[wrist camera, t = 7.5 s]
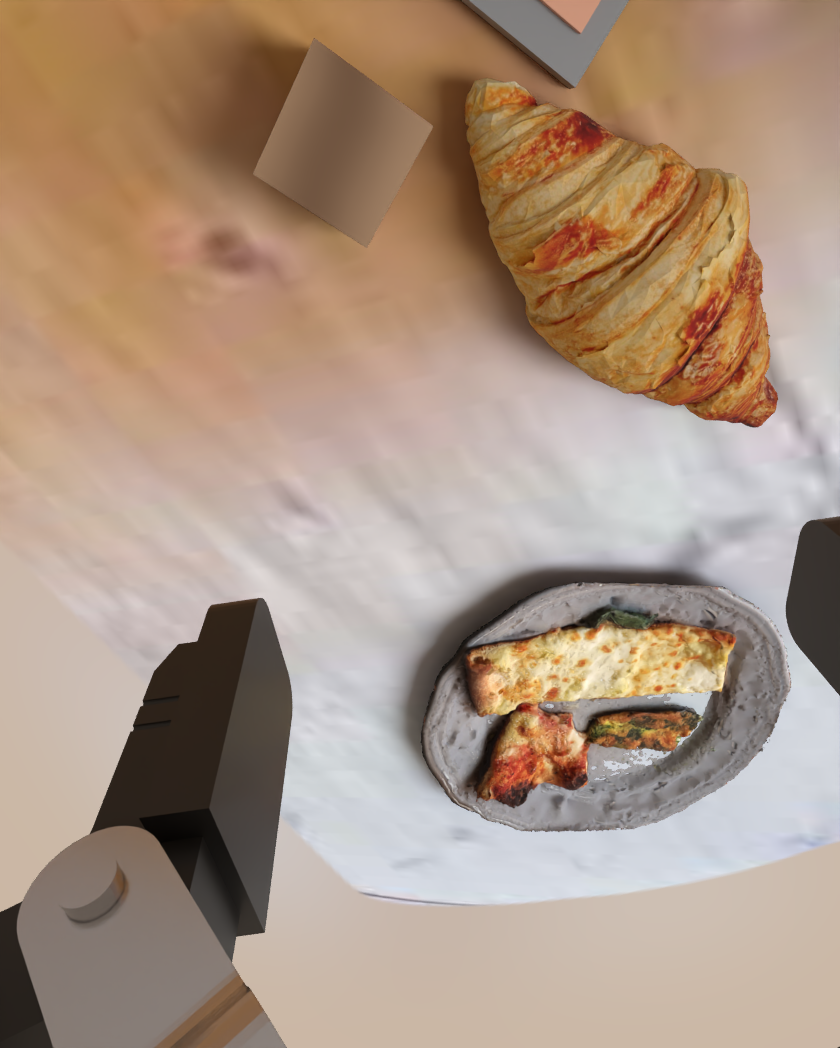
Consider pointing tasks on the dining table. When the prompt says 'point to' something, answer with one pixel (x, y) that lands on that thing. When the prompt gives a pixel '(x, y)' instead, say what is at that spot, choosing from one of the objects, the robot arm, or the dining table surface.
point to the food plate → (603, 704)
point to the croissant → (625, 255)
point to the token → (341, 145)
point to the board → (554, 30)
